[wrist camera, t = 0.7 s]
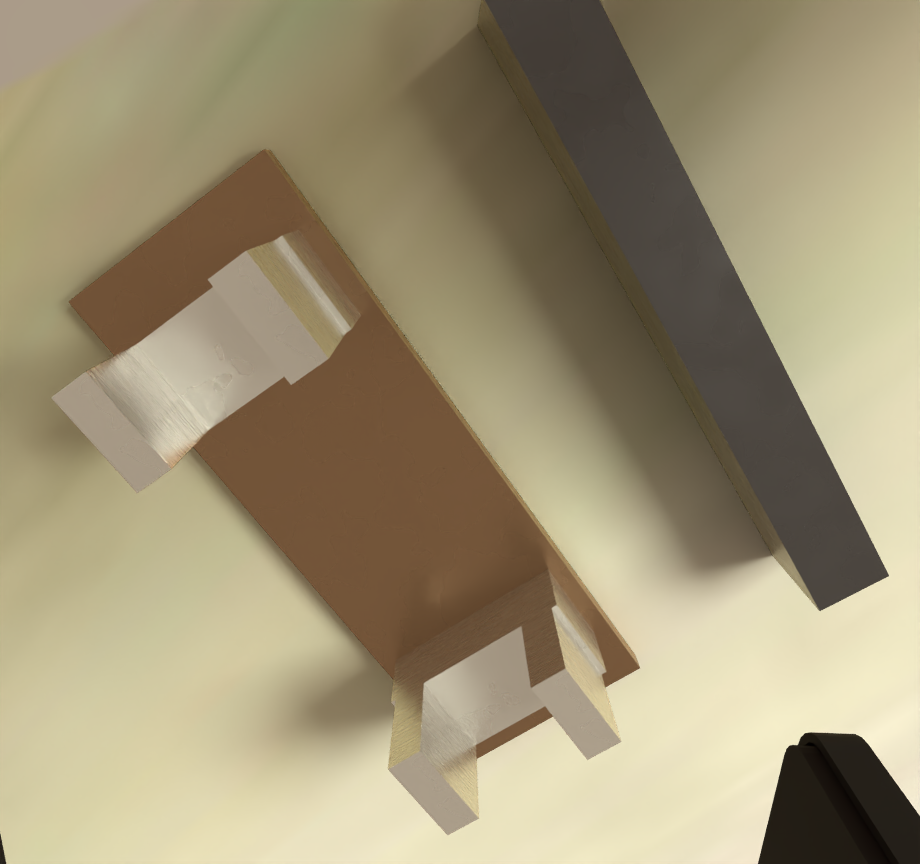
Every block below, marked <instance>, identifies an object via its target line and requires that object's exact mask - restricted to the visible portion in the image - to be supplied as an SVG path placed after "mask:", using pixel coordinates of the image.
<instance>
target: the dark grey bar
mask: <svg viewBox="0 0 920 864" xmlns="http://www.w3.org/2000/svg"><path fill="white" fill-rule="evenodd" d="M477 26H478V28H479V30H480V31H481V33H482V35H483V37H484V39H485V40H486V42H487V44H488V46H489V48H490V49H491V51H492V53H493V55H494V57H495V58H496V60H497V62H498V64H499V66H500V67H501V69H502V71H503V73H504V75H505V76H506V78H507V80H508V82H509V84H510V85H511V87H512V89H513V91H514V93H515V94H516V96H517V98H518V100H519V101H520V103H521V105H522V107H523V109H524V110H525V112H526V114H527V116H528V118H529V119H530V121H531V123H532V125H533V127H534V128H535V130H536V132H537V134H538V136H539V137H540V139H541V141H542V143H543V145H544V146H545V148H546V150H547V152H548V154H549V155H550V157H551V159H552V161H553V163H554V164H555V166H556V168H557V170H558V172H559V173H560V175H561V177H562V179H563V180H564V182H565V184H566V186H567V188H568V189H569V191H570V193H571V195H572V197H573V198H574V200H575V202H576V204H577V206H578V207H579V209H580V211H581V213H582V215H583V216H584V218H585V220H586V222H587V224H588V225H589V227H590V229H591V231H592V233H593V234H594V236H595V238H596V240H597V242H598V243H599V245H600V247H601V249H602V251H603V252H604V254H605V256H606V258H607V260H608V261H609V263H610V265H611V267H612V268H613V270H614V272H615V274H616V276H617V277H618V279H619V281H620V283H621V285H622V286H623V288H624V290H625V292H626V294H627V295H628V297H629V299H630V301H631V303H632V304H633V306H634V308H635V310H636V312H637V313H638V315H639V317H640V319H641V321H642V322H643V324H644V326H645V328H646V330H647V331H648V333H649V335H650V337H651V339H652V340H653V342H654V344H655V346H656V347H657V349H658V351H659V353H660V355H661V356H662V358H663V360H664V362H665V364H666V365H667V367H668V369H669V371H670V373H671V374H672V376H673V378H674V380H675V382H676V383H677V385H678V387H679V389H680V391H681V392H682V394H683V396H684V398H685V400H686V401H687V403H688V405H689V407H690V409H691V410H692V412H693V414H694V416H695V418H696V419H697V421H698V423H699V425H700V426H701V428H702V430H703V432H704V434H705V435H706V437H707V439H708V441H709V443H710V444H711V446H712V448H713V450H714V452H715V453H716V455H717V457H718V459H719V461H720V462H721V464H722V466H723V468H724V470H725V471H726V473H727V475H728V477H729V479H730V480H731V482H732V484H733V486H734V488H735V489H736V491H737V493H738V495H739V497H740V498H741V500H742V502H743V504H744V505H745V507H746V509H747V511H748V513H749V514H750V516H751V518H752V520H753V522H754V523H755V525H756V527H757V529H758V531H759V532H760V534H761V536H762V538H763V540H764V541H765V543H766V545H767V547H768V549H769V550H770V552H771V554H772V556H773V557H774V558H775V559H776V560H777V561H778V563H779V564H780V565H781V566H782V567H783V569H784V570H785V571H786V572H787V573H788V574H789V576H790V577H791V578H792V579H793V580H794V581H795V583H796V584H797V585H798V586H799V587H800V589H801V590H802V591H803V592H804V593H805V594H806V596H807V597H808V598H809V599H810V600H811V602H812V603H813V604H814V605H815V606H816V607H817V609H818V610H819V611H821V610H823V609H825V608H827V607H829V606H831V605H833V604H835V603H837V602H839V601H841V600H843V599H845V598H847V597H849V596H851V595H853V594H854V593H856V592H858V591H860V590H862V589H864V588H866V587H868V586H870V585H872V584H874V583H876V582H878V581H880V580H882V579H884V578H886V577H888V576H889V575H888V573H887V571H886V569H885V567H884V565H883V563H882V561H881V559H880V557H879V555H878V553H877V551H876V549H875V547H874V545H873V543H872V541H871V539H870V537H869V535H868V533H867V531H866V529H865V527H864V525H863V523H862V521H861V519H860V517H859V515H858V513H857V511H856V509H855V507H854V505H853V503H852V501H851V499H850V497H849V495H848V493H847V491H846V489H845V487H844V485H843V483H842V481H841V479H840V477H839V475H838V473H837V471H836V469H835V467H834V465H833V463H832V461H831V459H830V457H829V455H828V453H827V451H826V450H825V448H824V446H823V444H822V442H821V440H820V438H819V436H818V434H817V432H816V430H815V428H814V426H813V424H812V422H811V420H810V418H809V416H808V414H807V412H806V410H805V408H804V406H803V404H802V402H801V400H800V398H799V396H798V394H797V392H796V390H795V388H794V386H793V384H792V382H791V380H790V378H789V376H788V374H787V372H786V370H785V368H784V366H783V364H782V362H781V360H780V358H779V356H778V354H777V352H776V350H775V348H774V346H773V344H772V342H771V340H770V338H769V336H768V334H767V332H766V330H765V328H764V326H763V324H762V322H761V320H760V318H759V316H758V314H757V312H756V310H755V309H754V307H753V305H752V303H751V301H750V299H749V297H748V295H747V293H746V291H745V289H744V287H743V285H742V283H741V281H740V279H739V277H738V275H737V273H736V271H735V269H734V267H733V265H732V263H731V261H730V259H729V257H728V255H727V253H726V251H725V249H724V247H723V245H722V243H721V241H720V239H719V237H718V235H717V233H716V231H715V229H714V227H713V225H712V223H711V221H710V219H709V217H708V215H707V213H706V211H705V209H704V207H703V205H702V203H701V201H700V199H699V197H698V195H697V193H696V191H695V189H694V187H693V185H692V183H691V181H690V179H689V177H688V175H687V173H686V171H685V169H684V168H683V166H682V164H681V162H680V160H679V158H678V156H677V154H676V152H675V150H674V148H673V146H672V144H671V142H670V140H669V138H668V136H667V134H666V132H665V130H664V128H663V126H662V124H661V122H660V120H659V118H658V116H657V114H656V112H655V110H654V108H653V106H652V104H651V102H650V100H649V98H648V96H647V94H646V92H645V90H644V88H643V86H642V84H641V82H640V80H639V78H638V76H637V74H636V72H635V70H634V68H633V66H632V64H631V62H630V60H629V58H628V56H627V54H626V52H625V50H624V48H623V46H622V44H621V42H620V40H619V38H618V36H617V34H616V32H615V30H614V28H613V26H612V25H611V23H610V21H609V19H608V17H607V15H606V13H605V11H604V9H603V7H602V5H601V3H600V1H599V0H481V6H480V11H479V17H478V23H477Z"/></svg>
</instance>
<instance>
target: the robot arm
mask: <svg viewBox="0 0 920 864" xmlns="http://www.w3.org/2000/svg"><path fill="white" fill-rule="evenodd" d="M0 864H6V860H5V855H4V850H3V845H2V840H1V835H0ZM758 864H920V816H919V814H918V813H917V812H916V810H915V809H914V807H913V806H912V805H911V803H910V802H909V800H908V799H907V798H906V796H905V795H904V793H903V792H902V791H901V789H900V788H899V787H898V785H897V784H896V782H895V781H894V780H893V778H892V777H891V775H890V774H889V773H888V771H887V770H886V768H885V767H884V766H883V764H882V763H881V761H880V760H879V759H878V757H877V756H876V755H875V753H874V752H873V750H872V749H871V748H870V746H869V745H868V744H867V743H866V741H865V740H864V739H863V738H862V737H860V736H858V735H856V734H836V733H805V734H804V735H803V736H802V737H801V739H800V741H799V744H798V745H791V746H789V747H788V748H787V749H786V752H785V755H784V759H783V763H782V767H781V771H780V775H779V779H778V784H777V788H776V792H775V796H774V800H773V804H772V808H771V812H770V817H769V821H768V825H767V829H766V833H765V837H764V841H763V845H762V849H761V854H760V858H759V862H758Z"/></svg>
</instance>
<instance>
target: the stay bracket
mask: <svg viewBox="0 0 920 864" xmlns="http://www.w3.org/2000/svg"><path fill="white" fill-rule="evenodd" d="M69 303H70V305H71V306H72V307H73V308H74V309H75V310H76V311H77V313H78V314H79V315H80V316H81V317H82V318H83V320H84V321H85V322H86V323H87V324H88V325H89V327H90V328H91V329H92V330H93V331H94V332H95V334H96V335H97V336H98V337H99V338H100V339H101V341H102V342H103V343H104V344H105V345H106V346H107V347H108V349H109V350H110V351H111V352H112V353H113V354H114V356H113V357H112V358H110V359H108V360H106V361H104V362H102V363H100V364H98V365H97V366H95V367H93V368H91V369H89V370H87V371H85V372H84V373H83V374H81V375H80V376H79V377H77V378H76V379H75V380H73V381H72V382H71V383H69V384H68V385H67V386H65V387H64V388H63V389H61V390H60V391H59V392H57V393H56V394H55V395H53V396H52V397H51V398H52V400H53V401H54V402H55V403H56V404H57V405H58V406H59V407H60V408H61V409H62V411H63V412H64V413H65V414H66V415H67V416H68V417H69V418H70V419H71V420H72V422H73V423H74V424H75V425H76V426H77V427H78V428H79V429H80V430H81V431H82V433H83V434H84V435H85V436H86V437H87V438H88V439H89V440H90V441H91V443H92V444H93V445H94V446H95V447H96V448H97V449H98V450H99V451H100V452H101V454H102V455H103V456H104V457H105V458H106V459H107V460H108V461H109V462H110V463H111V465H112V466H113V467H114V468H115V469H116V470H117V471H118V472H119V473H120V474H121V476H122V477H123V478H124V479H125V480H126V481H127V482H128V483H129V484H130V486H131V487H132V488H133V489H134V490H135V491H136V492H137V493H138V492H139V491H141V490H142V489H144V488H145V487H146V486H148V485H149V484H151V483H152V482H154V481H155V480H156V479H158V478H159V477H161V476H162V475H164V474H165V473H166V472H168V471H169V470H171V469H172V468H173V467H174V466H175V465H176V464H177V463H178V462H179V461H180V460H181V459H182V457H183V456H184V455H185V454H186V453H187V452H188V451H189V450H190V449H191V448H192V447H194V449H195V450H196V451H197V452H198V453H199V454H200V456H201V457H202V458H203V459H204V460H205V461H206V462H207V464H208V465H209V466H210V467H211V468H212V469H213V471H214V472H215V473H216V474H217V475H218V476H219V478H220V479H221V480H222V481H223V482H224V483H225V485H226V486H227V487H228V488H229V489H230V490H231V492H232V493H233V494H234V495H235V496H236V497H237V499H238V500H239V501H240V502H241V503H242V504H243V505H244V507H245V508H246V509H247V510H248V511H249V512H250V514H251V515H252V516H253V517H254V518H255V519H256V521H257V522H258V523H259V524H260V525H261V526H262V528H263V529H264V530H265V531H266V532H267V533H268V535H269V536H270V537H271V538H272V539H273V540H274V541H275V543H276V544H277V545H278V546H279V547H280V548H281V550H282V551H283V552H284V553H285V554H286V555H287V557H288V558H289V559H290V560H291V561H292V562H293V564H294V565H295V566H296V567H297V568H298V569H299V571H300V572H301V573H302V574H303V575H304V576H305V578H306V579H307V580H308V581H309V582H310V583H311V584H312V586H313V587H314V588H315V589H316V590H317V591H318V593H319V594H320V595H321V596H322V597H323V598H324V600H325V601H326V602H327V603H328V604H329V605H330V607H331V608H332V609H333V610H334V611H335V612H336V614H337V615H338V616H339V617H340V618H341V619H342V620H343V622H344V623H345V624H346V625H347V626H348V627H349V629H350V630H351V631H352V632H353V633H354V634H355V636H356V637H357V638H358V639H359V640H360V641H361V643H362V644H363V645H364V646H365V647H366V648H367V650H368V651H369V652H370V653H371V654H372V655H373V656H374V658H375V659H376V660H377V661H378V662H379V663H380V665H381V666H382V667H383V668H384V669H385V670H386V672H387V673H388V674H389V675H390V676H391V677H392V679H393V680H394V681H393V689H392V697H391V703H392V704H393V705H394V707H395V710H394V719H393V728H392V737H391V746H390V755H389V764H388V770H389V771H390V772H391V773H392V774H393V775H394V777H395V778H396V779H397V780H398V781H399V782H400V783H401V784H402V785H403V786H404V788H405V789H406V790H407V791H408V792H409V793H410V794H411V795H412V796H413V797H414V799H415V800H416V801H417V802H418V803H419V804H420V805H421V806H422V807H423V809H424V810H425V811H426V812H427V813H428V814H429V815H430V816H431V817H432V818H433V820H434V821H435V822H436V823H437V824H438V825H439V826H440V827H441V828H442V829H443V831H444V832H445V833H446V834H447V835H449V834H451V833H453V832H455V831H456V830H458V829H460V828H462V827H464V826H466V825H468V824H469V823H471V822H473V821H475V820H477V819H479V806H478V782H477V758H479V757H481V756H483V755H485V754H486V753H488V752H490V751H492V750H494V749H495V748H497V747H499V746H501V745H503V744H504V743H506V742H508V741H510V740H512V739H513V738H515V737H517V736H519V735H521V734H522V733H524V732H526V731H528V730H530V729H531V728H533V727H535V726H537V725H539V724H540V723H542V722H544V721H546V720H547V719H549V718H551V717H554V718H555V719H556V721H557V722H558V723H559V724H560V726H561V727H562V728H563V730H564V731H565V732H566V733H567V735H568V736H569V737H570V738H571V740H572V741H573V742H574V743H575V745H576V746H577V747H578V748H579V750H580V751H581V752H582V754H583V755H584V756H585V757H586V759H587V760H588V759H590V758H592V757H594V756H596V755H597V754H599V753H601V752H603V751H605V750H607V749H609V748H610V747H612V746H614V745H616V744H618V743H620V742H621V739H620V735H619V732H618V729H617V725H616V722H615V718H614V715H613V712H612V708H611V705H610V702H609V698H608V695H607V692H606V688H605V687H607V686H609V685H610V684H612V683H614V682H616V681H618V680H619V679H621V678H623V677H625V676H627V675H628V674H630V673H632V672H634V671H636V670H637V669H639V668H640V666H639V664H638V661H637V659H636V656H635V654H634V653H633V651H632V650H631V649H630V647H629V646H628V644H627V643H626V642H625V640H624V639H623V638H622V636H621V635H620V633H619V632H618V631H617V629H616V628H615V626H614V625H613V624H612V622H611V621H610V620H609V618H608V617H607V615H606V614H605V613H604V611H603V610H602V609H601V607H600V606H599V604H598V603H597V602H596V600H595V599H594V597H593V596H592V595H591V593H590V592H589V591H588V589H587V588H586V586H585V585H584V584H583V582H582V581H581V579H580V578H579V577H578V575H577V574H576V573H575V571H574V570H573V568H572V567H571V566H570V564H569V563H568V561H567V560H566V559H565V557H564V556H563V555H562V553H561V552H560V550H559V549H558V548H557V546H556V545H555V543H554V542H553V541H552V539H551V538H550V537H549V535H548V534H547V532H546V531H545V530H544V528H543V527H542V525H541V524H540V523H539V521H538V520H537V519H536V517H535V516H534V514H533V513H532V512H531V510H530V509H529V507H528V506H527V505H526V503H525V502H524V501H523V499H522V498H521V496H520V495H519V494H518V492H517V491H516V489H515V488H514V487H513V485H512V484H511V483H510V481H509V480H508V478H507V477H506V476H505V474H504V473H503V471H502V470H501V469H500V467H499V466H498V465H497V463H496V462H495V460H494V459H493V458H492V456H491V455H490V453H489V452H488V451H487V449H486V448H485V447H484V445H483V444H482V442H481V441H480V440H479V438H478V437H477V436H476V434H475V433H474V431H473V430H472V429H471V427H470V426H469V424H468V423H467V422H466V420H465V419H464V418H463V416H462V415H461V413H460V412H459V411H458V409H457V408H456V406H455V405H454V404H453V402H452V401H451V400H450V398H449V397H448V395H447V394H446V393H445V391H444V390H443V388H442V387H441V386H440V384H439V383H438V382H437V380H436V379H435V377H434V376H433V375H432V373H431V372H430V370H429V369H428V368H427V366H426V365H425V364H424V362H423V361H422V359H421V358H420V357H419V355H418V354H417V352H416V351H415V350H414V348H413V347H412V346H411V344H410V343H409V341H408V340H407V339H406V337H405V336H404V334H403V333H402V332H401V330H400V329H399V328H398V326H397V325H396V323H395V322H394V321H393V319H392V318H391V316H390V315H389V314H388V312H387V311H386V310H385V308H384V307H383V305H382V304H381V303H380V301H379V300H378V298H377V297H376V296H375V294H374V293H373V292H372V290H371V289H370V287H369V286H368V285H367V283H366V282H365V280H364V279H363V278H362V276H361V275H360V274H359V272H358V271H357V269H356V268H355V267H354V265H353V264H352V262H351V261H350V260H349V258H348V257H347V256H346V254H345V253H344V251H343V250H342V249H341V247H340V246H339V245H338V243H337V242H336V240H335V239H334V238H333V236H332V235H331V233H330V232H329V231H328V229H327V228H326V227H325V225H324V224H323V222H322V221H321V220H320V218H319V217H318V215H317V214H316V213H315V211H314V210H313V209H312V207H311V206H310V204H309V203H308V202H307V200H306V199H305V197H304V196H303V195H302V193H301V192H300V191H299V189H298V188H297V186H296V185H295V184H294V182H293V181H292V179H291V178H290V177H289V175H288V174H287V173H286V171H285V170H284V168H283V167H282V166H281V164H280V163H279V161H278V160H277V159H276V157H275V156H274V155H273V153H272V152H271V150H266V149H264V150H263V151H261V152H260V153H259V154H257V155H256V156H255V157H254V158H252V159H251V160H250V161H248V162H247V163H246V164H245V165H243V166H242V167H241V168H239V169H238V170H237V171H236V172H234V173H233V174H232V175H230V176H229V177H228V178H227V179H225V180H224V181H223V182H222V183H220V184H219V185H218V186H216V187H215V188H214V189H213V190H211V191H210V192H209V193H207V194H206V195H205V196H204V197H202V198H201V199H200V200H198V201H197V202H196V203H195V204H193V205H192V206H191V207H189V208H188V209H187V210H186V211H184V212H183V213H182V214H180V215H179V216H178V217H177V218H175V219H174V220H173V221H171V222H170V223H169V224H168V225H166V226H165V227H164V228H162V229H161V230H160V231H159V232H157V233H156V234H155V235H154V236H152V237H151V238H150V239H148V240H147V241H146V242H145V243H143V244H142V245H141V246H139V247H138V248H137V249H136V250H134V251H133V252H132V253H130V254H129V255H128V256H127V257H125V258H124V259H123V260H121V261H120V262H119V263H118V264H116V265H115V266H114V267H112V268H111V269H110V270H109V271H107V272H106V273H105V274H103V275H102V276H101V277H100V278H98V279H97V280H96V281H94V282H93V283H92V284H91V285H89V286H88V287H87V288H86V289H84V290H83V291H82V292H80V293H79V294H78V295H77V296H75V297H74V298H73V299H71V300H70V301H69Z"/></svg>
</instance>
